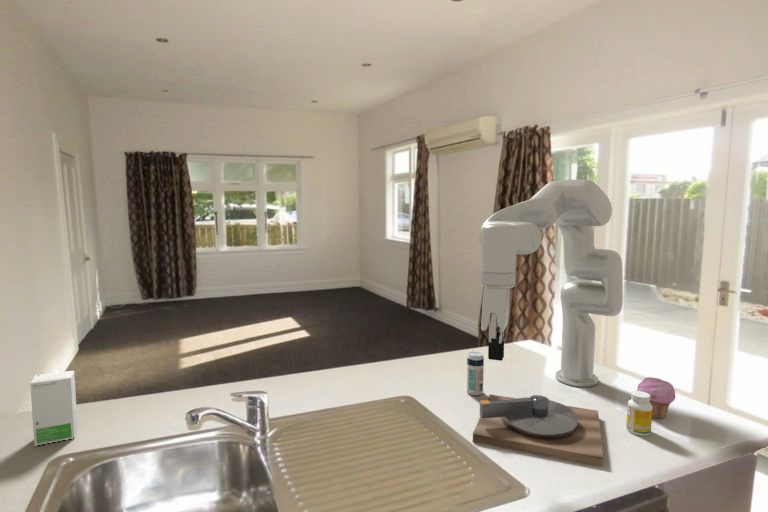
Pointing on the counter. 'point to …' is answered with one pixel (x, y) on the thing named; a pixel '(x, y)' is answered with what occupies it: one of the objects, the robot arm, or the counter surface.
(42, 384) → the skincare box
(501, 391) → the counter surface
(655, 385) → the cupcake
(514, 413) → the dial
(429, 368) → the counter surface
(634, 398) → the supplement bottle
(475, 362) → the pill bottle
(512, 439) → the dial base
